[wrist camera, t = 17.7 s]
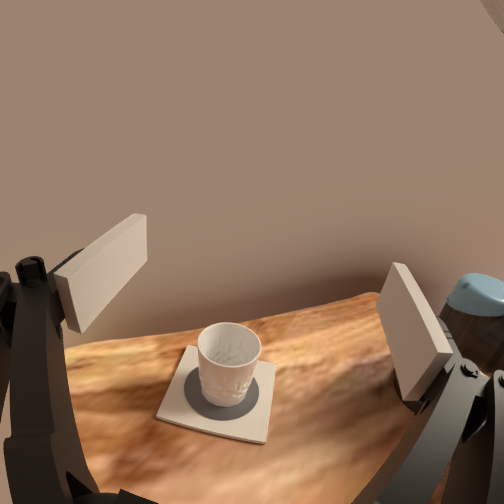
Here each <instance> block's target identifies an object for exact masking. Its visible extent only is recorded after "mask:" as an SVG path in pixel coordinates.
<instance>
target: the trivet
mask: <svg viewBox="0 0 504 504" xmlns="http://www.w3.org/2000/svg"><path fill="white" fill-rule="evenodd" d="M275 372H276V364H275V363H269V362H264V361H258V362H257V365H256V369H255V372H254V375H253V378H252V381H251V384H250V386H249V387H248V390H247V393H246V396H245V399H243V400H242V401H241V402H240V403H239V404H238V405H234V406H230V407H221V406H216V405H214V404H212V403H210V402H208V401H207V400H206V398H205V397H204V396H203V394H202V391H201V381H200V378H199V367H198V348H197V347H195V346H191V345H188V346H187V348H186V350H185V352H184V355H183V357H182V359H181V361H180V363H179V366H178V368H177V370H176V372H175V374H174V377H173V379H172V381H171V383H170V386H169V388H168V390H167V392H166V394H165V397H164V399H163V401H162V403H161V406H160V408H159V410H158V413H157V415H156V417H157V419H160V420H164V421H167V422H170V423H173V424H176V425H180V426H183V427H187V428H190V429H194V430H198V431H202V432H206V433H210V434H214V435H218V436H223V437H227V438H232V439H237V440H242V441H248V442H253V443H259V444H265V443H266V438H267V431H268V424H269V417H270V410H271V403H272V395H273V388H274V380H275Z"/></svg>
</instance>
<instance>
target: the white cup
mask: <svg viewBox="0 0 504 504" xmlns="http://www.w3.org/2000/svg"><path fill="white" fill-rule="evenodd" d="M197 348H198V367H199V378H200V381H201V391H202V394H203V396H204V397H205V398H206V400H207V401H208V402H210V403H212V404H214V405H216V406H221V407H230V406H234V405H238V404H239V403H240V402H241V401H242V400H243V399H245V396H246V393H247V390H248V387H249V386H250V384H251V381H252V378H253V375H254V372H255V369H256V365H257V362H258V359H259V355H260V352H261V342H260V340H259V338H258V336H257V335H256V334H255V333H254V332H253V331H252V330H250V329H249V328H247V327H245V326H242V325H239V324H236V323H217V324H214V325H211V326H208V327H207V328H205V329H204V330H203V331H202V332H201V333H200V335H199V337H198V340H197Z"/></svg>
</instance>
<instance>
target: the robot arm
mask: <svg viewBox="0 0 504 504" xmlns="http://www.w3.org/2000/svg"><path fill="white" fill-rule="evenodd" d="M481 2H482V4H483V5H484V7H485V9H486V10H487V12H488V13H489V15H490V16H491V18H492V19H493V20H494V22H495V23H496V24H497V25H498V27H499V28H500V29H501V31H502V32H503V33H504V0H481ZM146 244H147V243H146V215H142V214H135V213H134V214H132V215H131V216H129V217H128V218H126V219H125V220H124V221H122V222H121V223H119V224H118V225H116V226H115V227H114V228H112V229H111V230H109V231H108V232H107V233H105V234H104V235H102V236H101V237H100V238H98V239H97V240H96V241H94V242H93V243H92V244H90V245H89V246H88V247H86V248H84V249H81V250H79V251H76V252H74V253H73V254H72V255H70V256H69V257H68V259H65V260H64V261H62V263H60V264H59V265H57V266H56V267H55V268H54V269H52V270H51V271H50V272H49V273H47V274H46V270H45V266H44V261H43V259H42V258H41V257H37V256H32V257H27V258H25V259H22V260H21V261H20V262H18V263H17V265H16V266H15V268H16V272H17V275H18V279H19V282H20V283H12V281H11V278H10V275H9V273H7V272H0V422H1V415H2V411H3V406H4V401H5V396H6V392H7V388H8V384H9V380H10V418H11V437H9V438H6V439H5V441H4V457H5V465H6V471H7V477H8V483H9V488H10V493H11V497H12V502H13V504H158V503H156V502H153V501H151V500H148V499H145V498H142V497H140V496H137V495H134V494H132V493H129V492H127V491H125V490H122V489H120V491H119V494H116V493H100V492H99V489H98V487H97V485H96V483H95V481H94V479H93V477H92V475H91V474H90V472H89V470H88V467H87V464H86V461H85V458H84V454H83V451H82V447H81V443H80V439H79V435H78V431H77V427H76V423H75V418H74V413H73V408H72V403H71V398H70V392H69V386H68V379H67V372H66V364H65V356H64V345H63V333H62V327H61V324H60V323H61V322H62V321H63V320H64V319H66V322H67V325H68V329H70V330H73V331H75V332H78V333H80V334H82V333H83V332H84V331H85V330H86V329H87V327H88V326H89V325H90V324H91V323H92V322H93V320H94V319H95V318H96V317H97V315H98V314H99V313H100V312H101V311H102V310H103V309H104V307H105V306H106V305H107V304H108V303H109V302H110V301H111V300H112V298H113V297H114V296H115V295H116V294H117V293H118V292H119V291H120V289H121V288H122V287H123V286H124V285H125V284H126V283H127V282H128V281H129V279H130V278H131V277H132V276H133V275H134V274H135V273H136V272H137V271H138V270H139V269H140V268H141V267H142V265H143V264H144V263H145V262H146V261H147V245H146ZM376 307H377V310H378V313H379V316H380V319H381V323H382V326H383V329H384V332H385V336H386V339H387V342H388V346H389V349H390V353H391V356H392V360H393V363H394V367H395V371H396V372H395V377H394V382H395V387H396V390H397V393H398V395H399V396H400V398H401V400H402V401H403V402H404V403H405V404H406V405H407V406H408V407H409V408H410V409H411V410H413V411H414V412H416V413H415V414H414V415H417V416H416V417H415V419H414V420H413V422H412V424H411V425H410V427H409V428H408V430H407V432H406V433H405V435H404V436H403V438H402V439H401V441H400V442H399V444H398V445H397V446H396V448H395V449H394V451H393V452H392V454H391V455H390V456H389V458H388V459H387V460H386V462H385V463H384V464H383V466H382V467H381V468H380V470H379V471H378V472H377V473H376V475H375V476H374V477H373V478H372V480H371V481H370V482H369V483H368V484H367V486H366V487H365V488H364V489H363V490H362V491H361V493H360V494H359V495H358V496H357V497H356V498H355V499H354V500H353V502H352V503H351V504H427V503H428V501H429V499H430V498H431V496H432V494H433V492H434V491H435V489H436V487H437V485H438V483H439V482H440V480H441V478H442V476H443V474H444V472H445V470H446V468H447V466H448V464H449V462H450V460H451V457H452V455H453V457H452V462H451V466H450V471H449V475H448V479H447V483H446V487H445V491H444V494H443V498H442V501H441V504H504V283H503V282H502V281H499V280H498V279H495V278H493V277H490V276H487V275H483V274H477V273H470V274H465V275H463V276H462V277H460V278H459V279H458V281H457V283H456V284H455V286H454V288H453V290H452V292H451V294H449V295H448V297H447V302H446V304H445V306H444V307H443V309H442V312H441V313H440V315H439V317H438V316H435V315H434V314H433V312H432V310H431V308H430V306H429V304H428V303H427V301H426V299H425V297H424V295H423V294H422V292H421V290H420V288H419V287H418V285H417V283H416V281H415V280H414V278H413V276H412V275H411V273H410V271H409V270H408V268H407V267H406V265H404V264H400V263H395V262H393V264H392V266H391V269H390V272H389V274H388V276H387V279H386V282H385V284H384V287H383V289H382V291H381V294H380V296H379V299H378V301H377V303H376ZM479 370H480V371H481V372H482V373H484V374H485V375H486V376H487V377H486V376H482V375H480V371H479ZM485 421H486V422H485Z"/></svg>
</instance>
